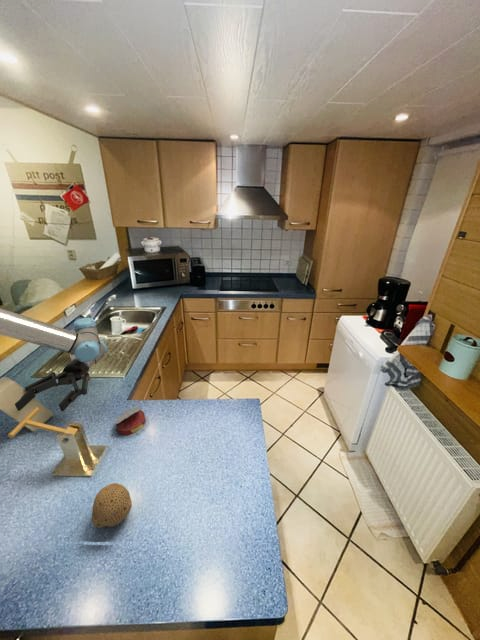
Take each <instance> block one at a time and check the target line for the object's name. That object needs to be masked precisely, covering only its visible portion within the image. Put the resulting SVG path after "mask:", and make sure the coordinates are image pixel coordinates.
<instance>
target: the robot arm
mask: <svg viewBox="0 0 480 640" xmlns="http://www.w3.org/2000/svg"><path fill="white" fill-rule="evenodd" d="M73 330H74V331H72V330H69V329H66V328H63V327H60V326H57V325H55V324H54V325H53V324H50V323H49V322H44V321H41V320H38V319H35V318H33V317H29V316H26V315H23V314H21V313H17V312H14V311H11V310H8V309H5V308H1V307H0V336H3V337H8V338H10V339H14V340H19V341H23V342H26V343H29V344H34V345H38V346H40V347H41V346H42V347H45V348H49V349H52V350H56V351H59V352H63V353H67V354H69V353H70V354H74V355H75V358H74V359H72V361H71V360H70V361H69V362H68V363H67V364H66V365H64V368H63V370H62V372H60V373H56V372H55V371H52V372H51V373H48V375H45V376H44V377H42V378H40V379H38V380H37V381H35V382H33V383H30V384H28V385H26V386H25V387H24V390H26V393H25V394H24V395H23V396H22V397H21V399H20V400H19V401H18V402H16V403H15V406H16V408H17V410H18V411H20V410H21V409H22V408H24V407H25V406H26V405H27V404H28V403H29V402H30V401H31V400H32V399H33V398H36V395H39V394H40V393H42V392H45V391H47V390H49V389H51V388H54V387H59V386H65V385H66V386H70V385H72V387H73V389H74V390H71V391H69V393H67V394H66V396H65V397H64V398H63V399H62V400H61V402H60V403H59V404H58V407H59V409H60V410H59V411H60V412H65V411H66V409H67V407H69V406H70V405H71V403H73V402H75V401H76V400H77V399H78V397H80V396H81V395H83V396H86V395H88V388H89V381H90V380H91V377H90V373H89V372H90V371H91V370H92V369H93V368H94V367H95V366H96V364H97V363H99V361H100V360H101V359H102V358H104V356H105V354H106V353H107V352H108V346H107V344H106V343H105V342H104V341H103V340H101V339H100V336H99V332H98V326H97V324H96V320H95V319H94V318H93V317H81V318H79V319H76V320H75V321H74V322H73ZM70 354H69V355H70ZM79 381H81V387H80V388H79V386H78V382H79Z"/></svg>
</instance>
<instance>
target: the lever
mask: <svg viewBox="0 0 480 640" xmlns="http://www.w3.org/2000/svg"><path fill="white" fill-rule="evenodd" d="M39 410H40V409H39V408H38V407H36V408H35V409H34V410H33V411H32V412H30V413H29V414H28V415H27V416H26V417H25V418H24V419H23V420H22V421H21V422H20V423H19V422H18V424H17V425H16V426H15V427H14V428H13V429H12V430H11V431H10V432H9V433H8V434H7V437H8V438H9V439H13V438H14V437H15V436H16V435H17V434H18V433H19V432H20V431H21V430H22V429H24V427H25V425H28V426H32V427H36V428H38V429H41V430H44V431H48V432H52V433H57V434H58V433H68V434H74V437H76V435H77V433H78V429H76V428H72V427H68V428H64V427H63V428H62V427H58V426H54V425H51V424H46V423H44V424H43V423H39V422H35V421H31V419H32V418H33V417H34V416H35V415H36V414H37V413H38V411H39Z"/></svg>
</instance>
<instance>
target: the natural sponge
mask: <svg viewBox="0 0 480 640" xmlns="http://www.w3.org/2000/svg"><path fill="white" fill-rule="evenodd" d="M130 494H131V493H130V492H129V490H128V489H127V488H126V486H125V485H123V484H121V483H117V482H114V483H113V482H112V483H110V484H108V485H105V486H104V487H102V488H101V489H100V490H99V491H98V492H97V494H96V495H95V498H94V500H93V503H92V510H91V523H92V525H93V526H94V527H96V528H104V527H108V528H109V527H111V528H112V527H115V526H118V525H119V524H121V523H122V522H123V521H124V520H125V519H126V518H127V517H128V515H129V514H130V512H131V510H132V506H133V505H132V504H133V502H132V499H131V495H130Z"/></svg>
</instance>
